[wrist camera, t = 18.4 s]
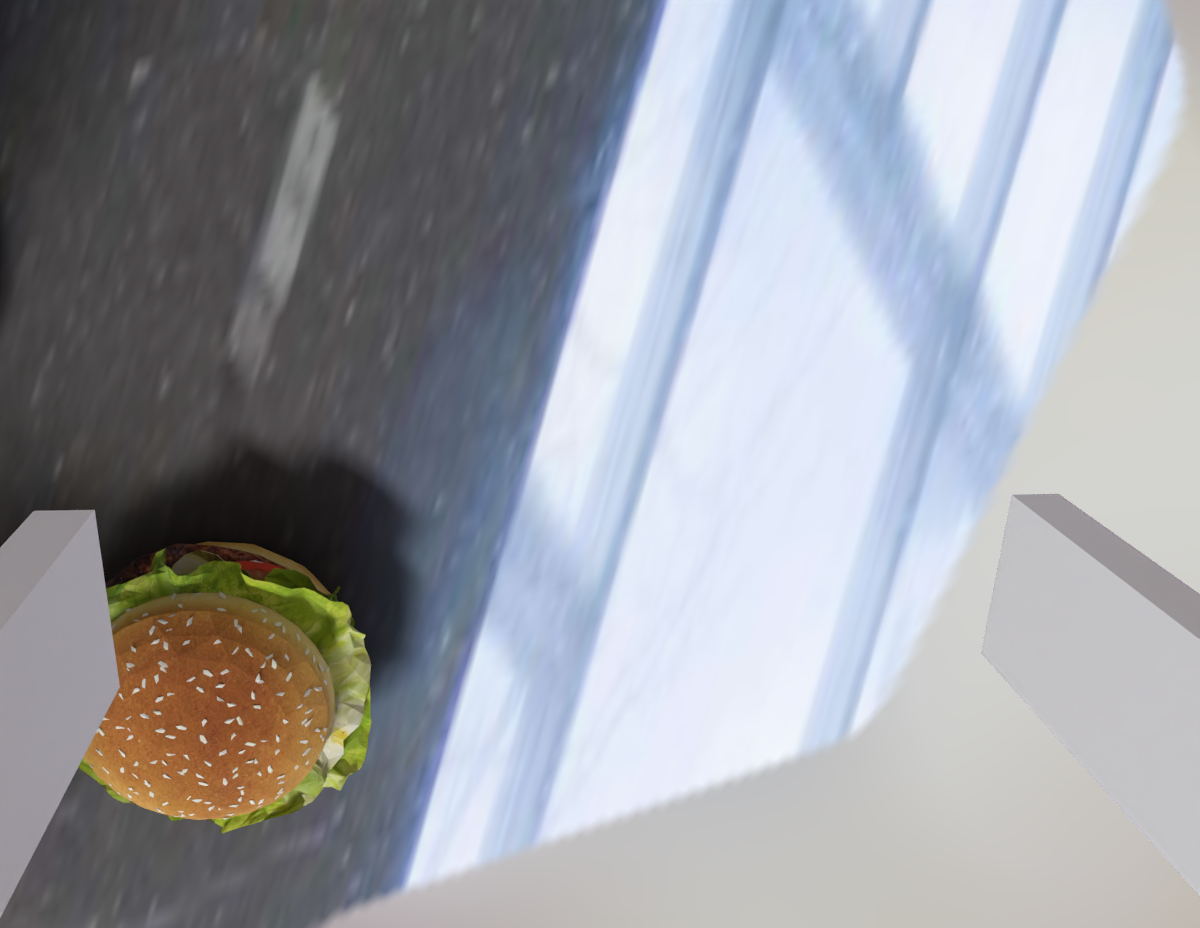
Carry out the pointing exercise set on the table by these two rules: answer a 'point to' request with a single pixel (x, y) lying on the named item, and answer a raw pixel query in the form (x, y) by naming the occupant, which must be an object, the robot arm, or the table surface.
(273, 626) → the food
